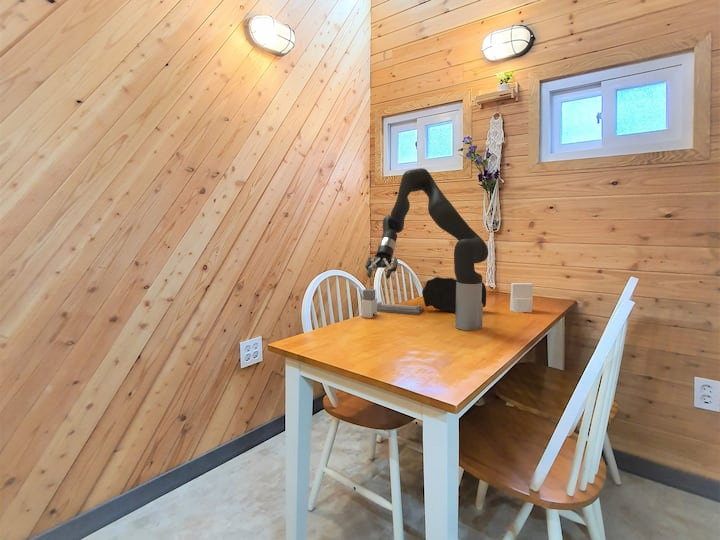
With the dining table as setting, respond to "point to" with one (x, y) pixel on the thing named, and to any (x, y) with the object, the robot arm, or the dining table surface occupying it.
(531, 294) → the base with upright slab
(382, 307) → the rail plate
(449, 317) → the dining table surface
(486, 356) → the dining table surface
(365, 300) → the din module
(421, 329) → the dining table surface
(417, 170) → the robot arm
